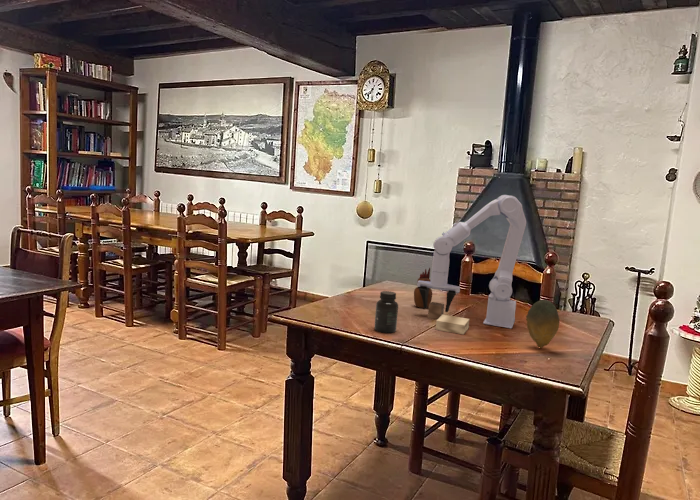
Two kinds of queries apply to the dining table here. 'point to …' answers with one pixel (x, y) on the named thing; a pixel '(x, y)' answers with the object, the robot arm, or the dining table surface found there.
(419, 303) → the wooden figurine
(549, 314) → the mango
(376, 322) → the supplement bottle
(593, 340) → the dining table surface
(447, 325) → the base block
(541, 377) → the dining table surface
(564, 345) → the dining table surface
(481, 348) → the dining table surface
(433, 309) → the walnut block
